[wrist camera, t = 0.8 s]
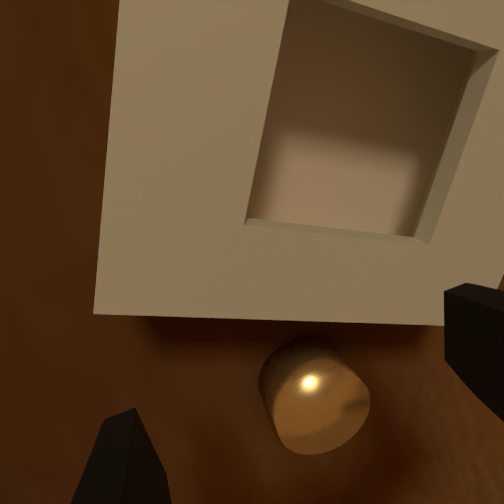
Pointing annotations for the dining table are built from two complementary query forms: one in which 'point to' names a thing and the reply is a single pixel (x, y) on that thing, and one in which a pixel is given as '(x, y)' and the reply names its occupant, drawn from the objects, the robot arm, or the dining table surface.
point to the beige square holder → (303, 159)
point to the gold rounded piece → (313, 395)
